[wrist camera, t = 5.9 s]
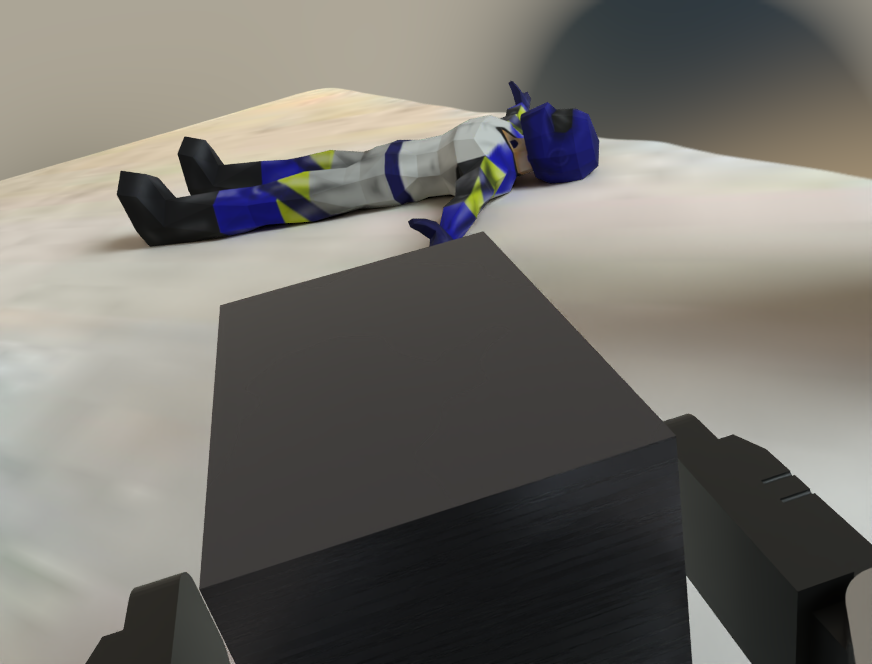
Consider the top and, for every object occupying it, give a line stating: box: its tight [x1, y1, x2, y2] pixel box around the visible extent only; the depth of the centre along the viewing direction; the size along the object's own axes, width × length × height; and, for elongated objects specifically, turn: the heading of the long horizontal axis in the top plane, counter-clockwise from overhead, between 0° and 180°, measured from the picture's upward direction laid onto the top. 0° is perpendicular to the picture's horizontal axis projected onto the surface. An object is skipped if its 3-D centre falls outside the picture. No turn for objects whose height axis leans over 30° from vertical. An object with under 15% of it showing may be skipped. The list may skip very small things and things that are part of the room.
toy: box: [117, 81, 599, 247], centre depth 49 cm, size 33×6×30 cm
